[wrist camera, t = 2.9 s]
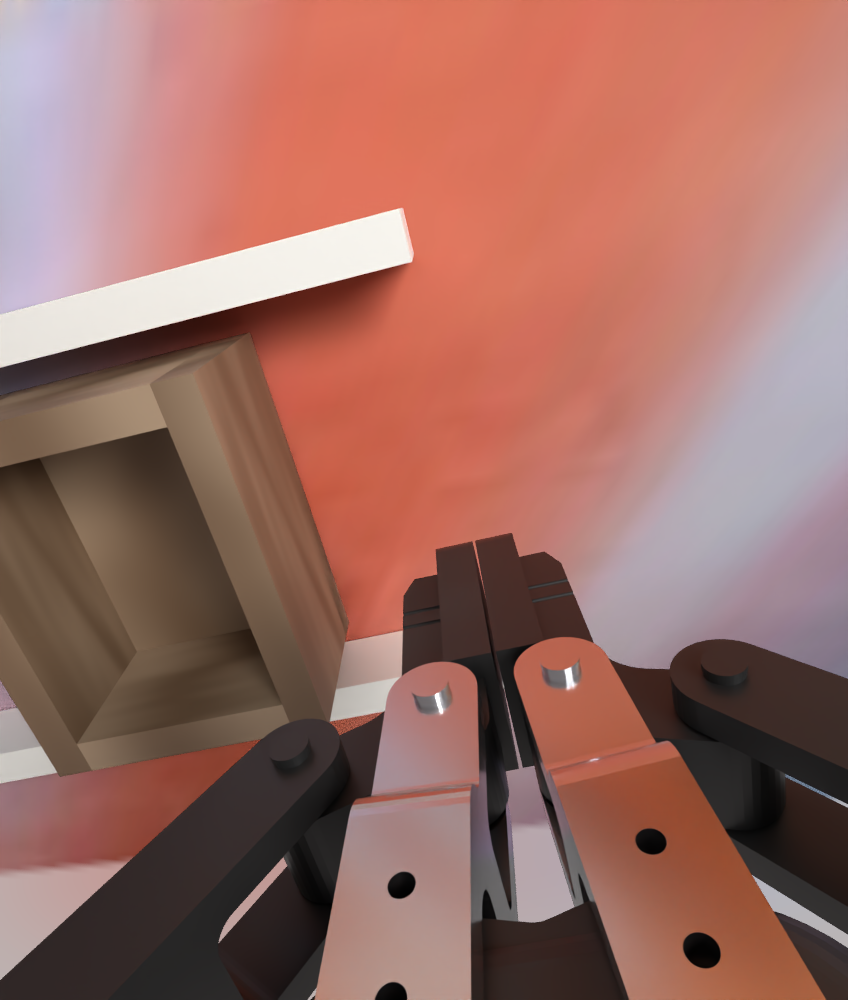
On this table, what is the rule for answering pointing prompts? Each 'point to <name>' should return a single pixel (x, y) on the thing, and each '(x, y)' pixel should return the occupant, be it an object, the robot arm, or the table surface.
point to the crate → (160, 562)
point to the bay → (188, 294)
